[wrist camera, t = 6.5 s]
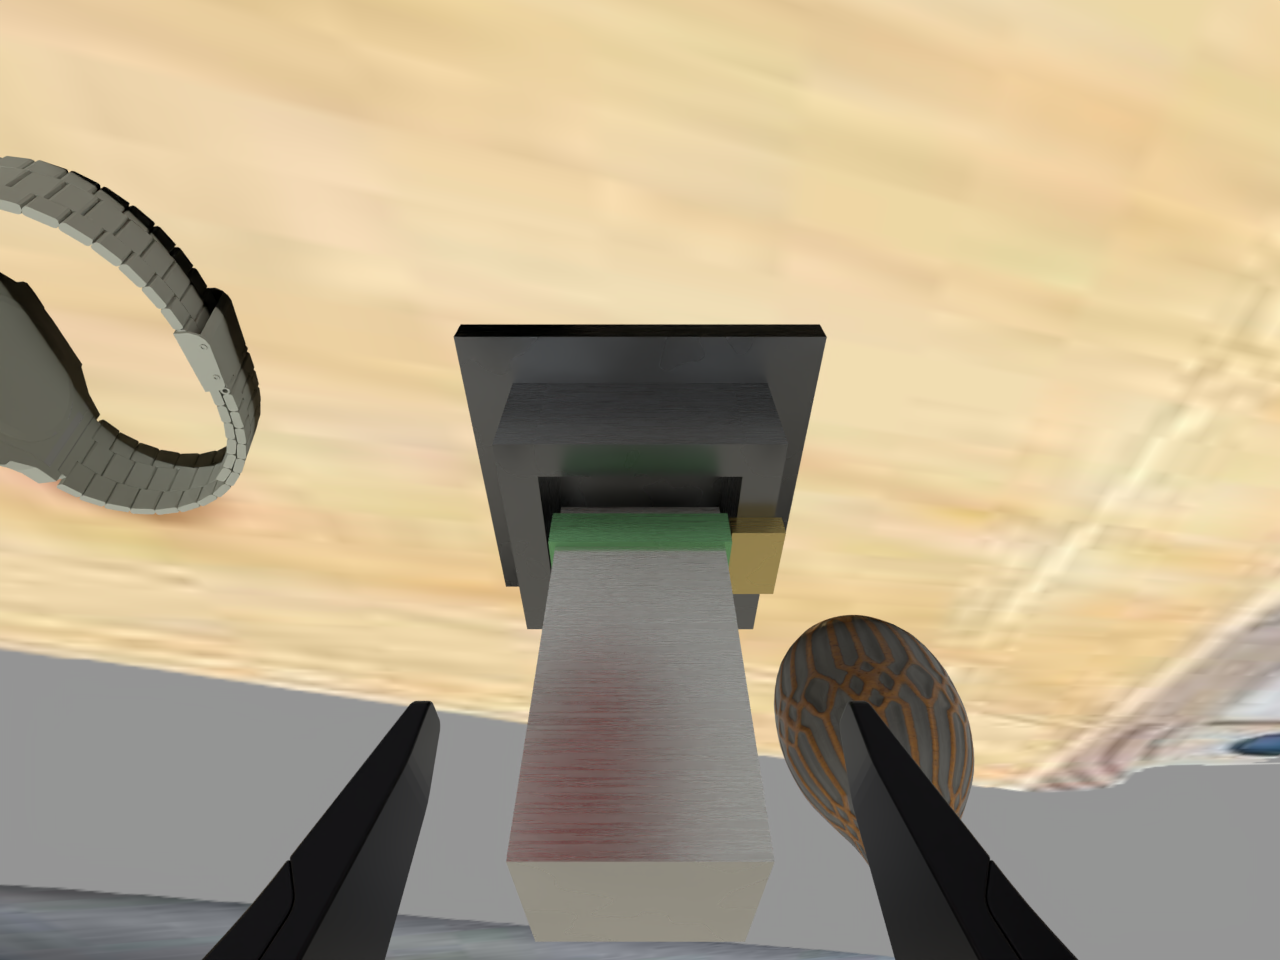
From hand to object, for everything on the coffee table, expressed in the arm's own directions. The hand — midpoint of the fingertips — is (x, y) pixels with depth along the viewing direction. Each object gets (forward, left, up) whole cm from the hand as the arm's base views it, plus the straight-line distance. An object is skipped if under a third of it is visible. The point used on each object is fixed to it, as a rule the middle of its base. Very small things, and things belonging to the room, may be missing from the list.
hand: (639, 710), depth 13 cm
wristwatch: (+14, -5, -9) cm, 17 cm away
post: (0, 0, -4) cm, 4 cm away
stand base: (0, 0, -9) cm, 9 cm away
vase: (-9, +10, -9) cm, 16 cm away
